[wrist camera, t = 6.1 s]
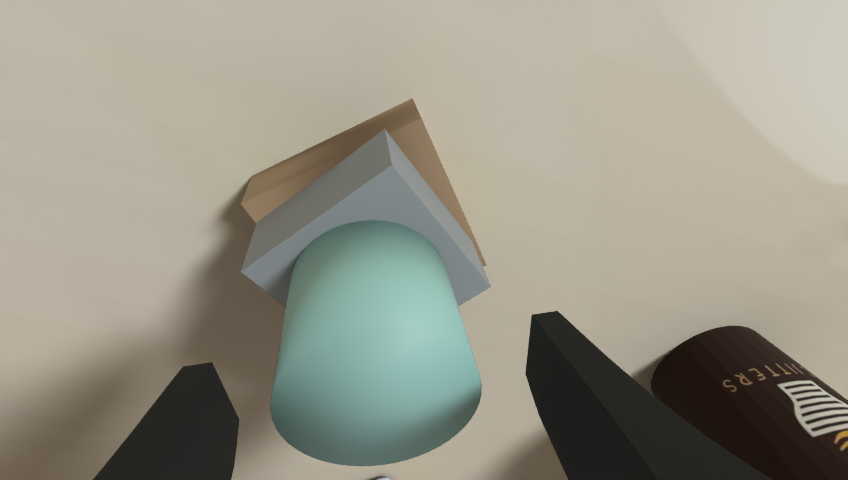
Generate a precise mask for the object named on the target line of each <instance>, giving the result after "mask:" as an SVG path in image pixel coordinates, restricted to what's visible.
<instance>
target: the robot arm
mask: <svg viewBox="0 0 848 480" xmlns="http://www.w3.org/2000/svg"><path fill="white" fill-rule="evenodd" d="M526 376H527V380H528V383H529V386H530V389H531V392H532V395H533V398H534V401H535V404H536V407H537V410H538V413H539V416H540V418H541V420H542V423H543V425H544V427H545V429H546V432H547V434H548V436H549V438H550V440H551V443H552V445H553V447H554V449H555V451H556V454H557V456H558V458H559V460H560V462H561V464H562V467H563V469H564V471H565V473H566V475H567V477H568V480H773V479H771V478H769V477H768V476H766V475H764V474H763V473H761V472H759V471H758V470H756V469H755V468H753V467H752V466H750V465H749V464H747V463H745V462H744V461H742V460H741V459H739V458H738V457H736V456H735V455H733V454H732V453H730V452H729V451H727V450H726V449H725V448H723V447H722V446H720V445H719V444H717V443H716V442H714V441H713V440H712V439H710V438H709V437H707V436H706V435H704V434H703V433H702V432H700V431H699V430H697V429H696V428H695V427H693V426H692V425H691V424H689V423H688V422H687V421H685V420H684V419H683V418H681V417H680V416H679V415H677V414H676V413H675V412H673V411H672V410H671V409H670V408H668V407H667V406H666V405H664V404H663V403H662V402H661V401H659V400H658V399H657V398H656V397H654V396H653V395H652V394H651V393H649V392H648V391H647V390H646V389H644V388H643V387H642V386H641V385H640V384H638V383H637V382H636V381H635V380H634V379H633V378H631V377H630V376H629V375H628V374H627V373H626V372H624V371H623V370H622V369H621V368H620V367H619V366H617V365H616V364H615V363H614V362H613V361H612V360H610V359H609V358H608V357H607V356H606V355H605V354H604V353H603V352H602V351H600V350H599V349H598V348H597V347H596V346H595V345H594V344H593V343H592V342H591V341H589V340H588V339H587V338H586V337H585V336H584V335H583V334H582V333H581V332H580V331H579V330H578V329H576V328H575V327H574V326H573V325H572V324H571V323H570V322H569V321H568V320H567V319H566V318H565V317H564V316H562V315H561V314H560V313H559V312H558V311H554V312H547V313H541V314H534V315H532V318H531V328H530V337H529V347H528V356H527V365H526ZM238 426H239V418H238V416H237V414H236V412H235V410H234V408H233V406H232V404H231V401H230V399H229V397H228V395H227V393H226V391H225V389H224V387H223V385H222V382H221V380H220V378H219V376H218V374H217V372H216V370H215V368H214V366H213V363H212V362H211V363H204V364H198V365H191V366H184V367H182V369H181V370H180V371H179V372H178V374H177V375H176V376H175V377H174V379H173V380H172V381H171V382H170V384H169V385H168V386H167V387H166V389H165V390H164V391H163V393H162V394H161V395H160V396H159V398H158V399H157V400H156V402H155V403H154V404H153V405H152V407H151V408H150V409H149V411H148V412H147V413H146V414H145V416H144V417H143V418H142V420H141V421H140V422H139V423H138V425H137V426H136V427H135V429H134V430H133V431H132V432H131V434H130V435H129V436H128V437H127V439H126V440H125V441H124V442H123V443H122V445H121V446H120V447H119V448H118V450H117V451H116V452H115V453H114V455H113V456H112V457H111V458H110V460H109V461H108V462H107V463H106V465H105V466H104V467H103V468H102V469H101V471H100V472H99V473H98V474H97V475H96V477H95V478H94V479H93V480H231V477H232V473H233V468H234V461H235V453H236V446H237V436H238ZM377 480H390V479H389V478H380V479H377Z"/></svg>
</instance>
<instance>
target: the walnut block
mask: <svg viewBox="0 0 848 480" xmlns="http://www.w3.org/2000/svg"><path fill="white" fill-rule="evenodd" d="M384 129H385V130H386V131H387V132H388V134H389V135H390V136H391V137H392V139H393V140H394V141H395V143H396V144H397V145H398V146H399V148H400V149H401V150H402V152H403V153H404V154H405V155H406V157H407V158H408V159H409V161H410V162H411V163H412V164H413V166H414V167H415V168H416V170H417V171H418V172H419V173H420V175H421V176H422V177H423V178H424V180H425V181H426V182H427V184H428V185H429V186H430V187H431V189H432V190H433V191H434V193H435V194H436V195H437V196H438V198H439V199H440V200H441V202H442V203H443V204H444V205H445V207H446V208H447V209H448V211H449V212H450V213H451V214H452V216H453V217H454V218H455V220H456V221H457V222H458V223H459V225H460V226H461V227H462V229H463V230H464V231H465V232H466V234H467V235H468V236H469V238H470V239H471V240H472V242H473V244H474V247H475V249H476V252H477V254H478V256H479V259H480V261H481V264H482V266H486V263H485V261H484V258H483V256H482V254H481V251H480V249H479V247H478V245H477V242H476V240H475V238H474V235H473V233H472V231H471V229H470V226H469V224H468V222H467V220H466V217H465V215H464V213H463V211H462V208H461V206H460V204H459V202H458V199H457V197H456V195H455V193H454V190H453V188H452V186H451V184H450V182H449V179H448V177H447V175H446V173H445V170H444V168H443V166H442V164H441V161H440V159H439V157H438V155H437V152H436V150H435V148H434V146H433V143H432V141H431V139H430V137H429V134H428V132H427V130H426V128H425V125H424V123H423V121H422V119H421V116H420V114H419V112H418V110H417V107H416V105H415V103H414V101H413V98H412V99H410V100H408V101H406V102H404V103H402V104H400V105H398V106H396V107H394V108H392V109H390V110H388V111H386V112H383V113H381V114H379V115H377V116H375V117H373V118H371V119H369V120H367V121H365V122H363V123H361V124H359V125H357V126H355V127H352V128H350V129H348V130H346V131H344V132H342V133H340V134H338V135H336V136H334V137H332V138H330V139H328V140H326V141H324V142H321V143H319V144H317V145H315V146H313V147H311V148H309V149H307V150H305V151H303V152H301V153H299V154H297V155H295V156H292V157H290V158H288V159H286V160H284V161H282V162H280V163H278V164H276V165H274V166H272V167H270V168H268V169H266V170H264V171H261V172H259V173H257V174H255V175H253V176H252V177H251V180H250V182H249V184H248V187H247V189H246V192H245V194H244V197H243V199H242V202H241V205H242V207H243V208H244V209H245V210H246V212H247V213H248V214H249V215H250V217H251V218H252V219H253V220H254V222H255V223H257V222H258V221H260V220H261V219H263V218H264V217H265V216H267V215H268V214H269V213H271V212H272V211H273V210H275V209H276V208H278V207H279V206H280V205H282V204H283V203H284V202H286V201H287V200H288V199H290V198H291V197H293V196H294V195H295V194H297V193H298V192H299V191H301V190H302V189H303V188H305V187H306V186H308V185H309V184H310V183H312V182H313V181H314V180H316V179H317V178H318V177H320V176H321V175H323V174H324V173H325V172H327V171H328V170H329V169H331V168H332V167H333V166H335V165H336V164H338V163H339V162H340V161H342V160H343V159H344V158H346V157H347V156H349V155H350V154H351V153H353V152H354V151H355V150H357V149H358V148H359V147H361V146H362V145H364V144H365V143H366V142H368V141H369V140H370V139H372V138H373V137H374V136H376V135H377V134H379V133H380V132H381V131H383V130H384Z"/></svg>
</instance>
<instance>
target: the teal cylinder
mask: <svg viewBox="0 0 848 480" xmlns="http://www.w3.org/2000/svg"><path fill="white" fill-rule="evenodd" d="M481 388H482V385H481V379H480V375H479V371H478V368H477V365H476V362H475V359H474V356H473V352H472V349H471V346H470V343H469V340H468V337H467V334H466V330H465V327H464V324H463V321H462V318H461V315H460V311H459V308H458V305H457V302H456V299H455V296H454V292H453V289H452V286H451V283H450V280H449V277H448V274H447V270H446V267H445V264H444V262H443V259H442V257H441V255H440V253H439V252H438V250H437V249H436V247H435V246H434V245H433V244H432V243H431V242H430V241H429V240H428V239H427V238H426V237H424V236H423V235H421V234H420V233H419V232H417V231H415V230H413V229H411V228H409V227H406V226H403V225H401V224H397V223H393V222H388V221H379V220H365V221H357V222H351V223H347V224H343V225H341V226H338V227H335V228H333V229H331V230H329V231H327V232H325V233H323V234H321V235H320V236H318V237H317V238H315V239H314V240H313V241H312V242H311V243H310V244H309V245H308V246H307V247H306V248H305V249H304V250H303V251H302V253H301V254H300V256H299V257H298V259H297V261H296V263H295V265H294V268H293V271H292V275H291V281H290V287H289V293H288V299H287V305H286V311H285V317H284V323H283V329H282V336H281V342H280V348H279V354H278V360H277V366H276V372H275V378H274V384H273V391H272V397H271V415H272V420H273V422H274V425H275V427H276V429H277V430H278V432H279V433H280V435H281V436H282V437H283V438H284V439H285V440H286V441H287V442H288V443H289V444H290V445H292V446H293V447H294V448H296V449H297V450H299V451H301V452H302V453H304V454H306V455H308V456H311V457H313V458H316V459H319V460H322V461H325V462H330V463H334V464H340V465H348V466H375V465H384V464H390V463H396V462H400V461H404V460H408V459H411V458H414V457H417V456H420V455H422V454H424V453H427V452H429V451H431V450H433V449H435V448H437V447H439V446H441V445H442V444H444V443H445V442H447V441H448V440H450V439H451V438H452V437H454V436H455V435H456V434H458V433H459V432H460V431H461V430H462V429H463V428H464V427H465V426H466V424H467V423H468V422H469V421H470V419H471V418H472V416H473V415H474V413H475V411H476V409H477V407H478V405H479V402H480V397H481Z"/></svg>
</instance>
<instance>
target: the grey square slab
mask: <svg viewBox="0 0 848 480" xmlns="http://www.w3.org/2000/svg"><path fill="white" fill-rule="evenodd" d="M365 220H379V221H388V222H393V223H397V224H401V225H403V226H406V227H409V228H411V229H413V230H415V231H417V232H419V233H420V234H421V235H423V236H424V237H426V238H427V239H428V240H429V241H430V242H431V243H432V244H433V245H434V246H435V247H436V249H437V250H438V252H439V253H440V255H441V257H442V259H443V262H444V264H445V267H446V270H447V274H448V277H449V280H450V283H451V286H452V289H453V292H454V296H455V299H456V302H457V305H458V306H460V305H461V304H463V303H465V302H466V301H468V300H470V299H471V298H473V297H475V296H476V295H478V294H480V293H481V292H483V291H485V290H486V289H488V288H490V287H491V285H490V283H489V281H488V278H487V276H486V273H485V271H484V269H483V266H482V264H481V261H480V259H479V256H478V254H477V252H476V249H475V247H474V244H473V242H472V240H471V239H470V238H469V236H468V235H467V234H466V232H465V231H464V230H463V229H462V227H461V226H460V225H459V223H458V222H457V221H456V220H455V218H454V217H453V216H452V214H451V213H450V212H449V211H448V209H447V208H446V207H445V205H444V204H443V203H442V202H441V200H440V199H439V198H438V196H437V195H436V194H435V193H434V191H433V190H432V189H431V187H430V186H429V185H428V184H427V182H426V181H425V180H424V178H423V177H422V176H421V175H420V173H419V172H418V171H417V170H416V168H415V167H414V166H413V164H412V163H411V162H410V161H409V159H408V158H407V157H406V155H405V154H404V153H403V152H402V150H401V149H400V148H399V146H398V145H397V144H396V143H395V141H394V140H393V139H392V137H391V136H390V135H389V134H388V132H387V131H386V130H385V129H384V130H383V131H381V132H380V133H379V134H377V135H376V136H374V137H373V138H372V139H370V140H369V141H368V142H366V143H365V144H364V145H362V146H361V147H359V148H358V149H357V150H355V151H354V152H353V153H351V154H350V155H349V156H347V157H346V158H344V159H343V160H342V161H340V162H339V163H338V164H336V165H335V166H333V167H332V168H331V169H329V170H328V171H327V172H325V173H324V174H323V175H321V176H320V177H318V178H317V179H316V180H314V181H313V182H312V183H310V184H309V185H308V186H306V187H305V188H303V189H302V190H301V191H299V192H298V193H297V194H295V195H294V196H293V197H291V198H290V199H288V200H287V201H286V202H284V203H283V204H282V205H280V206H279V207H278V208H276V209H275V210H273V211H272V212H271V213H269V214H268V215H267V216H265V217H264V218H263V219H261V220H260V221H258V222H257V223H256V226H255V229H254V232H253V235H252V238H251V241H250V244H249V248H248V251H247V254H246V257H245V260H244V263H243V266H242V269H241V273H243V274H244V275H245V276H247V277H248V278H249V279H250V280H252V281H253V282H254V283H255V284H257V285H258V286H259V287H261V288H262V289H263V290H264V291H266V292H267V293H268V294H269V295H271V296H272V297H273V298H275V299H276V300H277V301H278V302H280V303H281V304H282V305H284V306H285V307H286V305H287V299H288V293H289V287H290V281H291V275H292V271H293V268H294V265H295V263H296V261H297V259H298V257H299V256H300V254H301V253H302V251H303V250H304V249H305V248H306V247H307V246H308V245H309V244H310V243H311V242H312V241H313V240H314V239H315V238H317V237H318V236H320V235H321V234H323V233H325V232H327V231H329V230H331V229H333V228H335V227H338V226H341V225H343V224H347V223H351V222H357V221H365Z"/></svg>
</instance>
